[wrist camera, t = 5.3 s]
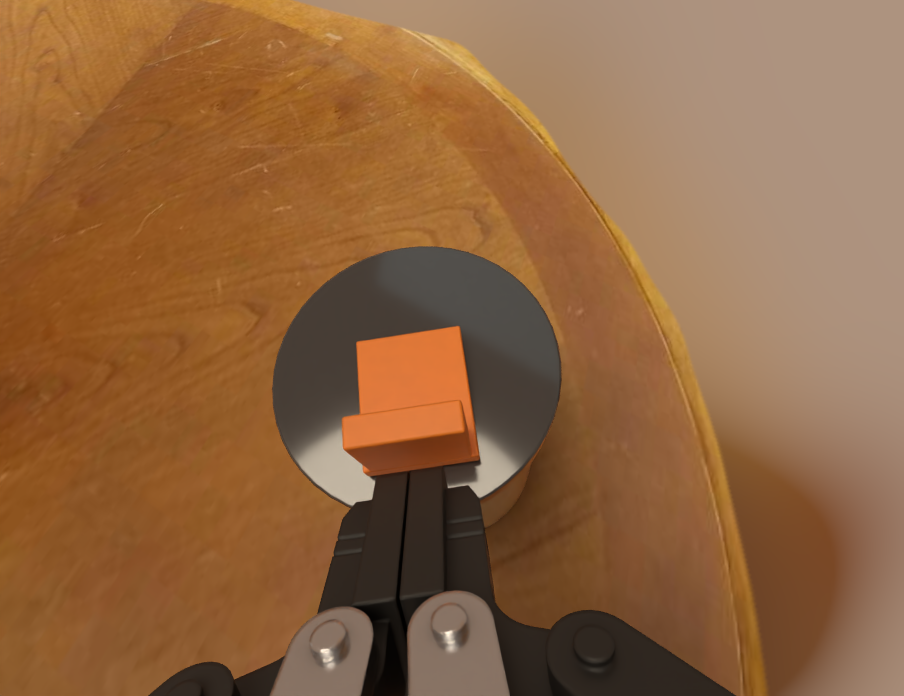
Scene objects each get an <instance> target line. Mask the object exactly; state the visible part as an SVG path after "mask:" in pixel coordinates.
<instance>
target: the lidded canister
mask: <svg viewBox="0 0 904 696" xmlns="http://www.w3.org/2000/svg"><path fill="white" fill-rule="evenodd" d="M455 326H459V327H460V330H461V336H462V342H463V349H464V355H465V362H466V369H467V375H468V382H469V389H470V395H471V402H472V408H473V415H474V422H475V428H476V435H477V441H478V448H479V455H480V460H478V461H471V462H464V463H457V464H450V465H444V466H443V468H444V471H445V476H446V481H447V486H448V488H453V487H459V486H466V485H469V486H470V488H471V489H472V490H473V491H474V492H475V494H476V495H477V496H478V497H479V498H480V503H481V509H482V515H483V521H484V527H485V528H487V527H489V526H491V525H492V524H494V523H495V522H497V521H498V520H499V519H501V518H502V517H503V516H504V515H505V514H506V513H507V512H508V511H509V510H510V509H511V508H512V506H513V505H514V504H515V503H516V501H517V500H518V498H519V496H520V495H521V493H522V491H523V489H524V486H525V484H526V482H527V478H528V474H529V471H530V467H531V463H532V461H533V459H534V458H535V457H536V455H537V453H538V452H539V450H540V448H541V447H542V445H543V443H544V442H545V440H546V437H547V435H548V433H549V430H550V428H551V426H552V423H553V420H554V417H555V413H556V410H557V406H558V402H559V397H560V389H561V381H562V378H561V358H560V352H559V346H558V342H557V339H556V336H555V333H554V330H553V327H552V325H551V323H550V321H549V319H548V317H547V315H546V313H545V311H544V310H543V308H542V307H541V305H540V304H539V302H538V301H537V299H536V298H535V297H534V296H533V294H532V293H531V292H530V291H529V290H528V289H527V288H526V286H525V285H524V284H522V283H521V282H520V281H519V280H518V279H517V278H516V277H514V276H513V275H512V274H511V273H509V272H508V271H506V270H505V269H503V268H502V267H500V266H499V265H497V264H495V263H493V262H491V261H489V260H487V259H485V258H483V257H480V256H477V255H474V254H471V253H469V252H465V251H460V250H456V249H452V248H443V247H420V246H418V247H409V248H401V249H396V250H391V251H387V252H383V253H380V254H377V255H374V256H371V257H368V258H366V259H364V260H362V261H359V262H357V263H355V264H353V265H351V266H350V267H348V268H346V269H345V270H343V271H341V272H339V273H338V274H337V275H335V276H334V277H333V278H331V279H330V280H329V281H327V282H326V283H325V284H324V285H322V286H321V287H320V288H319V289H318V290H317V291H316V292H315V293H314V294H313V295H312V296H311V297H310V298H309V299H308V301H307V302H306V303H305V304H304V305H303V306H302V308H301V309H300V311H299V312H298V314H297V315H296V316H295V318H294V319H293V321H292V323H291V324H290V326H289V328H288V330H287V332H286V334H285V336H284V338H283V341H282V344H281V347H280V349H279V352H278V355H277V360H276V364H275V368H274V376H273V387H272V391H273V408H274V414H275V419H276V424H277V427H278V430H279V433H280V436H281V439H282V441H283V443H284V445H285V447H286V449H287V451H288V453H289V455H290V457H291V458H292V460H293V461H294V462H295V464H296V465H297V467H298V468H299V469H300V471H301V472H302V473H303V474H304V475H305V476H306V477H307V478H308V479H309V480H310V481H311V482H312V483H313V484H314V485H315V486H316V487H317V488H319V489H320V490H321V491H323V492H324V493H325V494H327V495H328V496H329V497H331V498H332V499H334V500H336V501H338V502H340V503H342V504H343V505H345V506H347V507H349V508H352V507H353V505H354V504H355V503H356V502H360V501H367V500H372V496H373V491H374V486H375V481H376V477H377V476H380V475H376V476H367V475H366V474H364V473H363V465H362V464H361V463H360V462H358V461H357V460H356V459H355V458H353V457H352V456H351V455H349V454H348V453H347V452H346V451H344V449H343V440H342V418H343V417H346V416H352V415H359V414H360V406H359V387H358V367H357V348H356V343H357V342H358V341H365V340H371V339H378V338H384V337H391V336H397V335H403V334H410V333H416V332H423V331H429V330H436V329H442V328H448V327H455ZM437 467H439V466H437ZM430 468H432V467H430ZM423 469H426V468H423ZM417 470H419V469H417ZM411 471H413V470H410V471H409V472H410V473H411ZM403 472H407V471H403ZM396 473H400V472H396ZM389 474H394V473H389ZM383 475H387V474H383Z"/></svg>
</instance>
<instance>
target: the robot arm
mask: <svg viewBox="0 0 904 696" xmlns="http://www.w3.org/2000/svg"><path fill="white" fill-rule="evenodd" d="M149 696H736V695H734V694H733V693H731V692H730V691H728V690H727V689H725V688H724V687H722V686H721V685H719V684H718V683H716V682H714V681H713V680H711V679H710V678H708V677H707V676H705V675H704V674H702V673H701V672H699V671H698V670H696V669H695V668H693V667H692V666H690V665H689V664H687V663H686V662H684V661H683V660H681V659H680V658H678V657H677V656H675V655H674V654H672V653H671V652H669V651H668V650H666V649H665V648H663V647H662V646H660V645H659V644H657V643H656V642H654V641H653V640H651V639H650V638H648V637H646V636H645V635H643V634H642V633H640V632H639V631H637V630H636V629H634V628H633V627H631V626H630V625H628V624H627V623H625V622H624V621H622V620H621V619H619V618H617V617H615V616H613V615H611V614H608V613H605V612H601V611H594V610H582V611H577V612H573V613H570V614H568V615H566V616H564V617H562V618H561V619H560V620H559V621H557V622H556V623H555V624H554V626H553V627H552V628H551V630H550V629H544V628H538V627H532V626H528V625H524V624H521V623H519V622H516V621H514V620H513V619H511V618H509V617H508V616H507V615H505V614H504V613H503V612H502V611H501V610H500V609H499V607H498V606H497V604H496V603H495V596H494V589H493V581H492V574H491V566H490V558H489V551H488V545H487V539H486V533H485V527H484V521H483V515H482V509H481V503H480V498H479V497H478V496H477V495H476V494H475V492H474V491H473V490H472V489H471V488H470V486H469V485H466V486H459V487H453V488H448V486H447V481H446V476H445V471H444V468H443V466H439V467H432V468H426V469H419V470H413V471H411V473H410V472H409V471H407V472H400V473H394V474H387V475H380V476H377V477H376V481H375V486H374V491H373V496H372V500H367V501H360V502H356V503H355V504H354V505H353V507H352V508H351V509H350V510H349V512H348V513H347V514H346V515H345V517H344V518H343V519H342V523H341V527H340V531H339V534H338V541H337V542H336V546H335V549H334V557H332V561H331V564H330V568H329V572H328V576H327V579H326V583H325V587H324V590H323V594H322V598H321V602H320V605H319V609H318V613H317V615H315V616H314V617H312V618H311V619H310V620H308V621H307V622H306V623H305V624H304V625H303V626H302V627H301V628H300V629H299V630H298V631H297V632H296V634H295V635H294V637H293V638H292V640H291V642H290V644H289V646H288V649H287V652H286V654H285V656H284V657H282V658H280V659H279V660H277V661H275V662H273V663H271V664H269V665H267V666H264V667H262V668H260V669H258V670H255V671H253V672H251V673H248V674H246V675H244V676H242V677H239V678H237V679H235V680H234V678H233V676H232V674H231V671H230V670H229V669H228V668H227V667H226V666H224V665H223V664H220V663H217V662H204V663H199V664H195V665H193V666H190V667H188V668H186V669H184V670H182V671H180V672H178V673H176V674H175V675H173V676H172V677H170V678H169V679H168V680H167V681H165V682H164V683H163V684H162V685H160V686H159V687H158V688H157V689H156V690H154V691H153V692H152V693H151V694H150V695H149Z"/></svg>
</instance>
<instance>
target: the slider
mask: <svg viewBox="0 0 904 696" xmlns="http://www.w3.org/2000/svg"><path fill="white" fill-rule="evenodd" d="M356 348H357V367H358V387H359V406H360V414H359V415H352V416H346V417H343V418H342V440H343V449H344V451H346V452H347V453H348V454H349V455H351V456H352V457H353V458H355V459H356V460H357V461H358V462H360V463H361V464H362V465H363V473H364V474H366V475H367V476H376V475H383V474H389V473H396V472H403V471H410V470H417V469H423V468H430V467H437V466H444V465H450V464H457V463H464V462H471V461H478V460H480V455H479V448H478V441H477V435H476V428H475V422H474V415H473V408H472V402H471V395H470V389H469V382H468V375H467V369H466V362H465V355H464V349H463V342H462V336H461V330H460V327H459V326H455V327H448V328H442V329H436V330H429V331H423V332H416V333H410V334H403V335H397V336H391V337H384V338H378V339H371V340H365V341H358V342H357V343H356Z"/></svg>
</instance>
